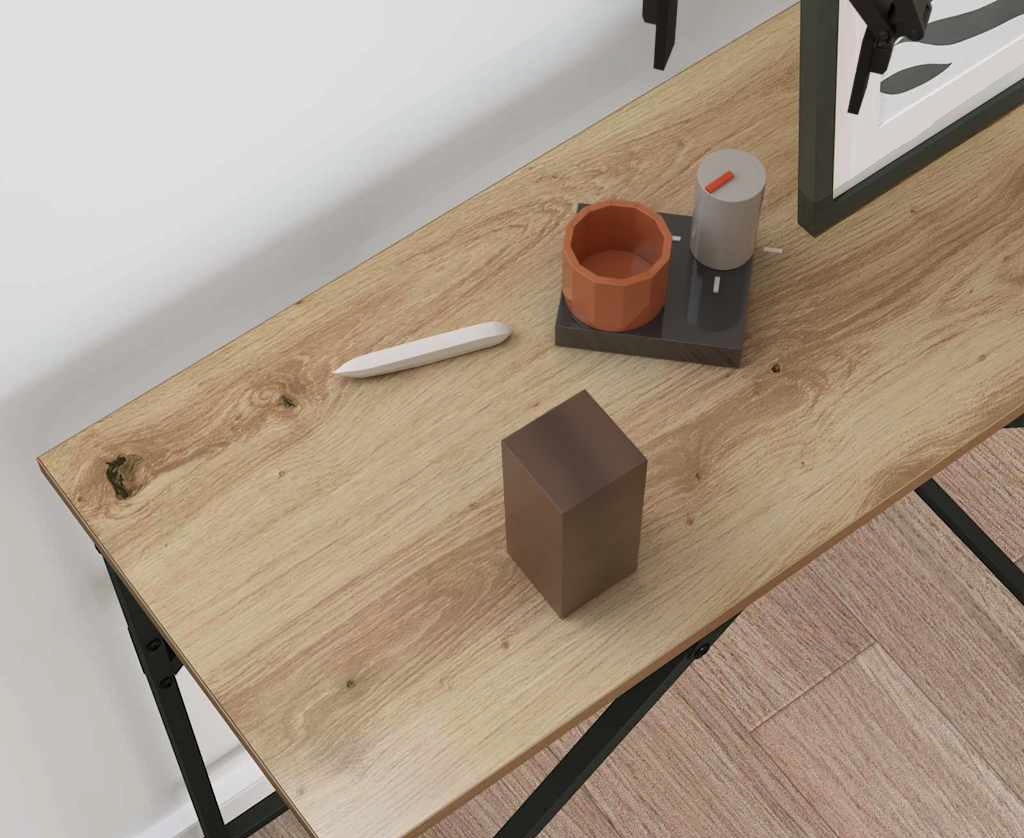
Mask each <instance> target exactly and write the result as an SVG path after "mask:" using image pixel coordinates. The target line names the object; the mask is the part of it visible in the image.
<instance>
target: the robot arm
mask: <svg viewBox="0 0 1024 838" xmlns="http://www.w3.org/2000/svg"><path fill="white" fill-rule="evenodd" d="M848 2H849V3H850V5H851V6H852V7H853V8H854V10H855V11H856V12H857V13H858V15H859V17H860V19H862V21H863V22H864V24H865V25H866V28H865V31H864V34H863V37H862V40H861V46H860V48H859V49H860V50H859V55H858V59H857V64H856V69H855V74H854V78H853V83H852V87H851V93H850V97H849V100H848V101H849V102H848V106H847V112H846V113H847V114H852V115H856V116H859V114H860V111H861V107H862V104H863V101H864V98H865V95H866V91H867V89H868V86H869V85H868V84H869V81H870V76H871V73H872V74H876V75H877V74H878V75H881V76H884V74H885V73H886V72H887V71H888V68H889V65H890V61H891V58H892V55H893V51H894V47H895V43H896V40H897V39H899V38H903V37H906V39H907V40H909V41H911V42H919V41H922V40H923V39H924V37H925V34H926V31H927V27H928V24H929V21H930V18H931V14H932V11H933V5H932V3H931V0H848ZM678 6H679V0H642V8H641V9H642V10H641V17H642V20H643V22H644V23H645V24H650V25H655V34H654V51H653V52H654V53H653V69H654V70H657V71H665V69H666V66H667V64H668V62H669V59H670V56H671V54H672V51H673V49H674V47H675V44H676V31H677V19H678V8H679V7H678Z"/></svg>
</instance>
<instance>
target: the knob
mask: <svg viewBox="0 0 1024 838" xmlns="http://www.w3.org/2000/svg"><path fill="white" fill-rule="evenodd" d="M767 179H768V176H767V170H766V168H765V166H764V164H763V162H762V161H761V160H760V158H758V157H756V156H755V155H754V154H752V153H750V152H748V151H746V150H743V149H738V148H723V149H719V150H716V151H713V152H711V153H710V154H708V155H707V156H705V157H704V158H703V160H702V161H701V162H700V164H699V166H698V168H697V174H696V183H695V191H694V199H693V207H692V215H691V216H692V224H691V233H690V241H689V245H690V250H691V252H692V254H693V256H694V257H695V258H696V259H697V260H698V261H699V262H700V263H701V264H703V265H705V266H707V267H709V268H712V269H716V270H731V269H735V268H738V267H740V266H742V265H743V264H745V263H746V262H747V261H748V260H749V259H750V258H751V256H752V255H753V253H754V254H755V249H756V244H757V237H758V232H759V231H758V230H759V226H760V220H761V214H762V208H763V203H764V197H765V192H766V185H767Z"/></svg>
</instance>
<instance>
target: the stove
mask: <svg viewBox="0 0 1024 838" xmlns="http://www.w3.org/2000/svg"><path fill="white" fill-rule="evenodd" d="M592 204H593V203H583V202H578V204H577V209H576V213H575V216H576V215H577V214H578V213H579V212H580V211H581V210H582V209H583V208H584V207H586V206H589V205H592ZM655 212H656V213H658V214H659V215H661V216H662V218H663V220H664V221H665V223H666V225H667V227H668V229H669V231H670V233H671V234H672V236H673V240H672V250H671V260H670V270H669V279H668V286H667V294H666V300H665V303H664V305H663V307H662V309H661V310H660V312H659V313H658V314H657V315H656V316H655V317H654V318H653V319H652V320H651V321H649V322H648V323H647V324H645V325H643V326H641V327H639V328H636V329H633V330H629V331H623V332H609V331H603V330H599V329H595V328H593V327H590V326H588V325H586V324H585V323H583V322H582V321H580V320H579V319H578V318H577V317H576V316H575V315H574V314H573V313H572V312H571V311H570V309H569V308H568V306H567V304H566V301H565V298H564V293H563V291H562V290H561V292H560V298H559V303H558V308H557V312H556V313H557V314H556V317H555V324H554V346H556V347H557V346H558V347H564V348H565V347H566V348H571V349H572V348H573V349H581V350H588V351H597V352H604V353H613V354H621V355H627V356H637V357H643V358H652V359H660V360H668V361H676V362H684V363H692V364H700V365H707V366H716V367H723V368H729V369H730V368H732V369H740V364H741V360H742V354H743V347H744V339H745V332H746V323H747V315H748V305H749V298H750V297H749V296H750V290H751V289H750V288H751V280H752V273H753V264H754V256H755V252H754V253H753V255H752V256H751V258H750V259H749V260H748V261H747V262H746V263H745V264H743V265H742V266H740V267H738V268H735V269H731V270H716V269H712V268H709V267H707V266H705V265H703V264H701V263H700V262H699V261H698V260H697V259H696V258H695V257H694V256H693V254H692V252H691V250H690V245H689V241H690V233H691V224H692V215H686V214H676V213H668V212H659V211H655ZM763 253H772V254H780V255H782V254H783V248H777V247H768V246H764V247H763Z"/></svg>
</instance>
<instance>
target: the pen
mask: <svg viewBox="0 0 1024 838" xmlns="http://www.w3.org/2000/svg"><path fill="white" fill-rule="evenodd" d="M512 330H513V329H512V328H511V327H510V326H509V325H507V324H505V323H504V322H501V321H486V322H482V323H477V324H474V325H470V326H466V327H461V328H459V329H454V330H450V331H447V332H442V333H440V334H435V335H431V336H428V337H424V338H421V339H416V340H413V341H410V342H409V341H408V342H405V343H402V344H398V345H395V346H391V347H387V348H384V349H381V350H376V351H373V352H369V353H366V354H362V355H359V356H356V357H354V358H352V359H350V360H348V361H347V362H345V363H343V364H342V365H341V366H339V367H337V369H336V370H334V371H333V372H332V374H333V375H336V376H341V377H347V378H354V379H355V378H361V379H362V378H369V377H374V376H379V375H380V376H381V375H386V374H391V373H395V372H400V371H404V370H409V369H413V368H418V367H423V366H426V365H429V364H433V363H436V362H440V361H443V360H448V359H451V358H456V357H458V356H461V355H465V354H469V353H472V352H477V351H480V350H485V349H487V348H491V347H493V346H497V345H499V344H501V343H502V342H504V341H505V340H507V339H508V338H509V336H510V335H511V334H512Z"/></svg>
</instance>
